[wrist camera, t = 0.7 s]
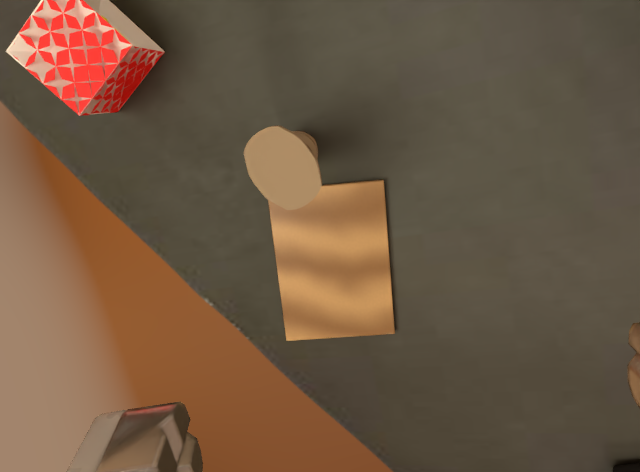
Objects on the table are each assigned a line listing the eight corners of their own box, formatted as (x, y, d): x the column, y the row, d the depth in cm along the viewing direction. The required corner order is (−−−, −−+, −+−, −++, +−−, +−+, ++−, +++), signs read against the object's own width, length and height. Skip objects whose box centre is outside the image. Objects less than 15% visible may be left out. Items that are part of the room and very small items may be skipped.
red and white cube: (165, 51, 52) (132, 45, 44) (118, 112, 54) (79, 115, 46) (100, -8, 51) (56, -25, 43) (55, 56, 53) (4, 50, 45)
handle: (301, 186, 55) (283, 221, 40) (263, 135, 54) (230, 152, 39) (339, 159, 54) (334, 185, 39) (301, 106, 53) (282, 113, 38)
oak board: (268, 189, 55) (266, 191, 54) (383, 179, 54) (383, 180, 53) (287, 337, 59) (286, 341, 59) (394, 330, 58) (394, 333, 58)
